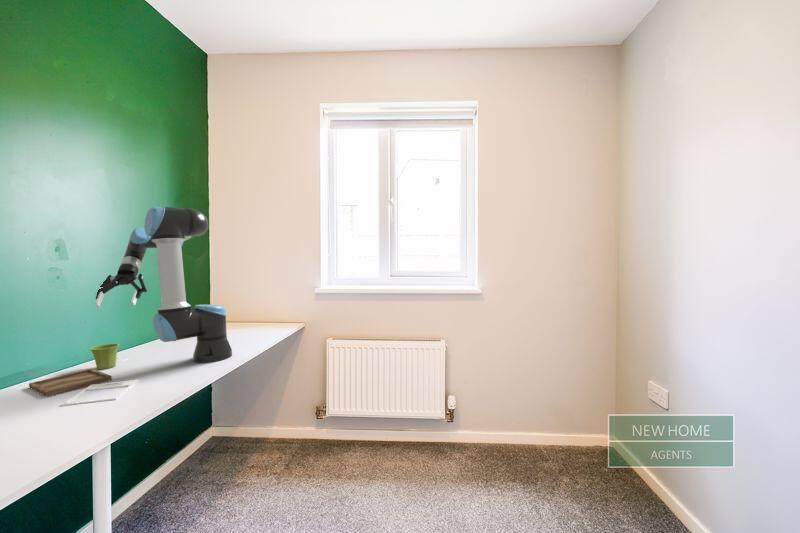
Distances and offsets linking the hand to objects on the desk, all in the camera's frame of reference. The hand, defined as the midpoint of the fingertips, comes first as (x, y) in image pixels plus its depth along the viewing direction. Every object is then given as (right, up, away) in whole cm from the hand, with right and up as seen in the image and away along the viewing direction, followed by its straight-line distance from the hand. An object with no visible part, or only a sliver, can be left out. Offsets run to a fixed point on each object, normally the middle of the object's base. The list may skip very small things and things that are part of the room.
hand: (115, 304), depth 165 cm
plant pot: (+4, -25, -9) cm, 27 cm away
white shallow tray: (+25, -26, -38) cm, 52 cm away
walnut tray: (+6, -26, -29) cm, 39 cm away
